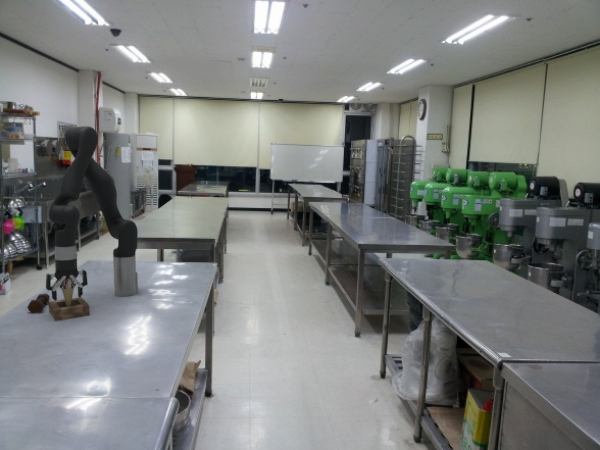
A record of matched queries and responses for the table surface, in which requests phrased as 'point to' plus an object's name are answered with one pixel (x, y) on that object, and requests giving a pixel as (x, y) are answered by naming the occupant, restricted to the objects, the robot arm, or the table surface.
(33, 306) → the bolt
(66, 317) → the wooden square frame
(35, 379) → the table surface
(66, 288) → the ice cream cone
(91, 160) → the robot arm
